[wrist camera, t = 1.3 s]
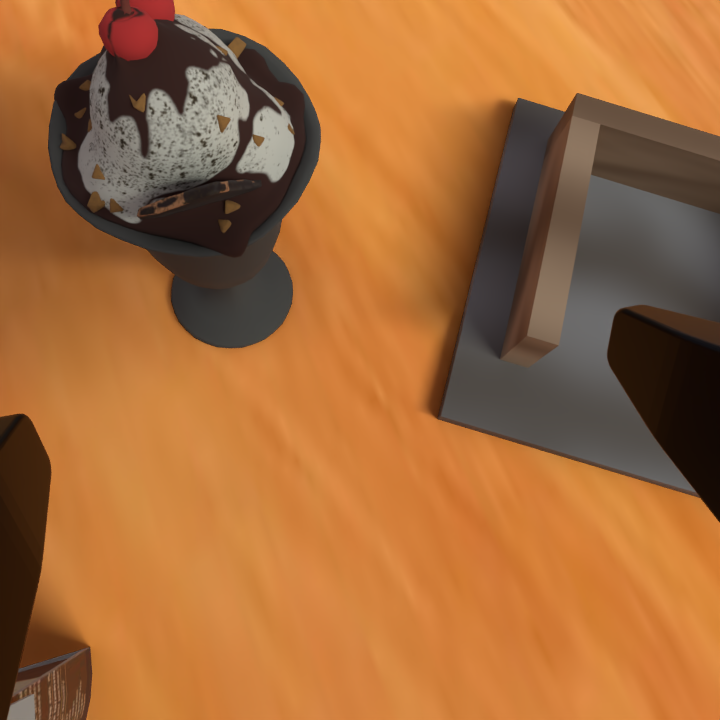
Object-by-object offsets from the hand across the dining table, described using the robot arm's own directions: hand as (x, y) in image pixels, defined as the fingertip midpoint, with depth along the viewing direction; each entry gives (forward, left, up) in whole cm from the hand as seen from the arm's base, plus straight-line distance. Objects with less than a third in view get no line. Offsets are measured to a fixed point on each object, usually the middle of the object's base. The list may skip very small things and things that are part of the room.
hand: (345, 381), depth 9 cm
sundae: (+4, +7, -14) cm, 17 cm away
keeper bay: (+15, -7, -14) cm, 22 cm away
